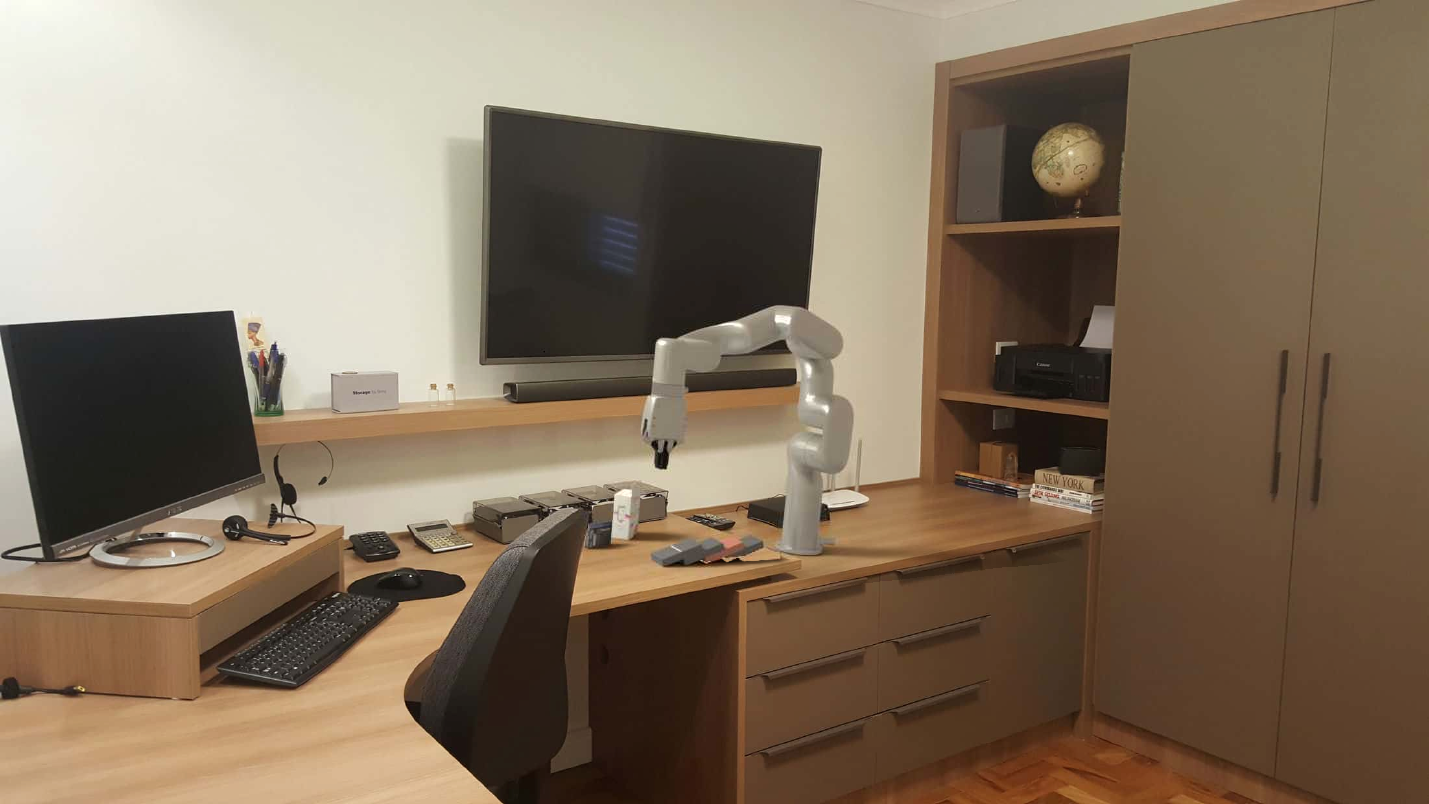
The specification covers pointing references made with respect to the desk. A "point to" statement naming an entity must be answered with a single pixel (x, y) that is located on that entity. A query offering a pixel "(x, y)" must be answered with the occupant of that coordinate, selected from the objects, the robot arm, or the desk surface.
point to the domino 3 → (726, 549)
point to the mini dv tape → (598, 534)
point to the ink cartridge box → (626, 512)
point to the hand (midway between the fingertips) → (660, 468)
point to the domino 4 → (748, 546)
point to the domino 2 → (705, 550)
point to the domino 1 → (676, 552)
